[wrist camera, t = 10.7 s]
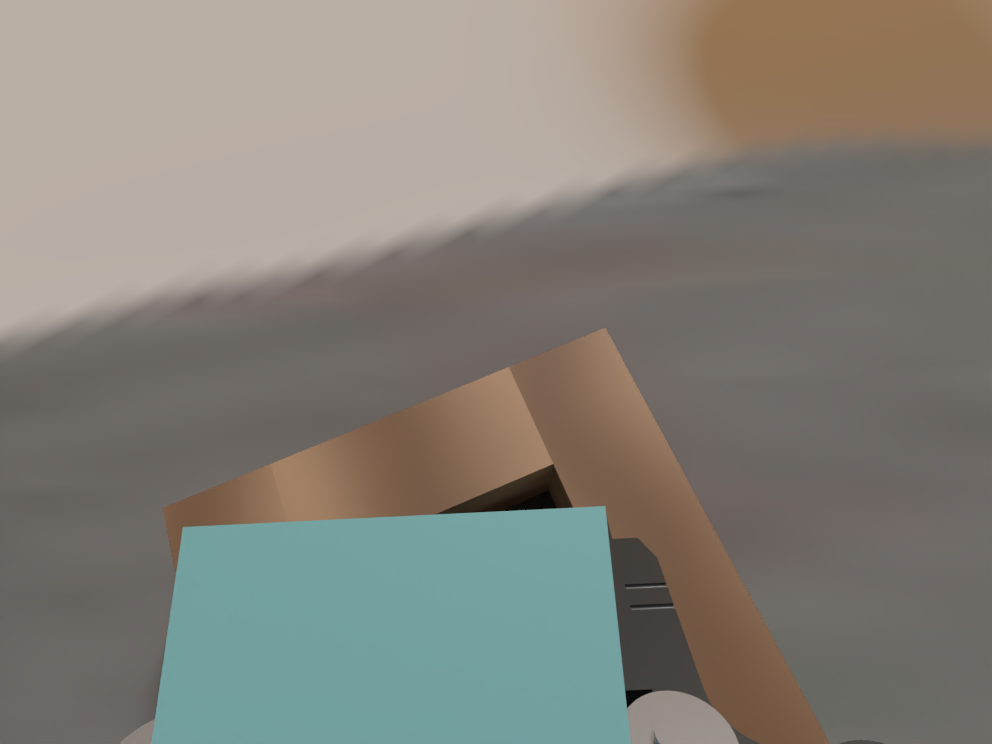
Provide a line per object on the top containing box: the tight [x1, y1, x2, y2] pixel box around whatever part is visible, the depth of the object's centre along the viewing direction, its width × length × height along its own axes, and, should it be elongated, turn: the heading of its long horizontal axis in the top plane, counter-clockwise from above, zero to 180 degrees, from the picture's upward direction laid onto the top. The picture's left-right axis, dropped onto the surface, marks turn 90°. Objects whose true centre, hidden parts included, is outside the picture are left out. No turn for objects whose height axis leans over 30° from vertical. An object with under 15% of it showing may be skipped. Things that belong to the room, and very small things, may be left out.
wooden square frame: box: [163, 328, 830, 744], centre depth 16 cm, size 13×13×4 cm
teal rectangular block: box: [151, 506, 631, 744], centre depth 10 cm, size 4×4×10 cm
